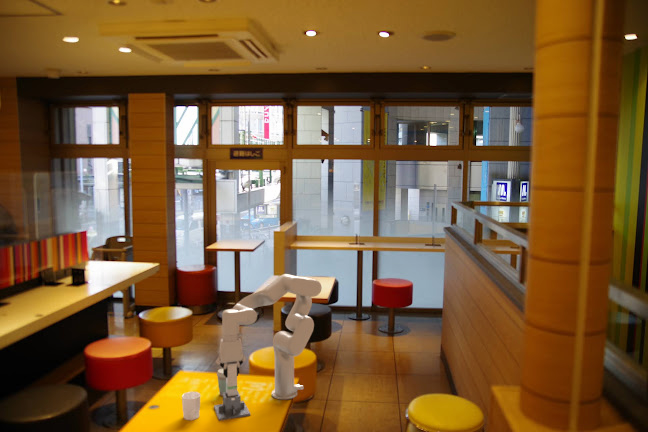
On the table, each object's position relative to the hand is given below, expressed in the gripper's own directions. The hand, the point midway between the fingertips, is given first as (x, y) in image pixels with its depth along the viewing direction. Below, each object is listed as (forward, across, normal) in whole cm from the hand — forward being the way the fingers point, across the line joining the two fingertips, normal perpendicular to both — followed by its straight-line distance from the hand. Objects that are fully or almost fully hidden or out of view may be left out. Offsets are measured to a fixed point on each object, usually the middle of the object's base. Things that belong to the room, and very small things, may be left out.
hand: (231, 375), depth 236 cm
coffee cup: (+17, -1, -20) cm, 26 cm away
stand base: (+17, 0, 0) cm, 17 cm away
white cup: (+17, +18, -1) cm, 25 cm away
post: (+10, 0, 0) cm, 10 cm away
